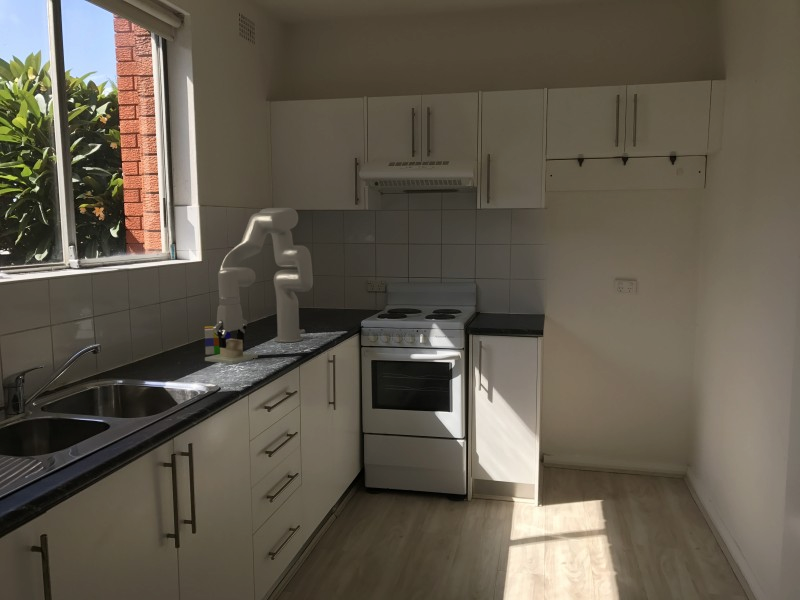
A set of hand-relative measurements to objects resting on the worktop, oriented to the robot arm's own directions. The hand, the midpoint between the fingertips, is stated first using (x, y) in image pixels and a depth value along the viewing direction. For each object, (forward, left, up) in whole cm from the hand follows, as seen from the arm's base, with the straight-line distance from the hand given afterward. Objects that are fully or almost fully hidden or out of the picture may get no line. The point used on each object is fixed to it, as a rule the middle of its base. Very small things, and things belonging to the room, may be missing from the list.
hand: (231, 345), depth 260 cm
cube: (0, 0, -4) cm, 4 cm away
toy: (-9, -16, -6) cm, 19 cm away
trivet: (0, 0, -5) cm, 5 cm away
